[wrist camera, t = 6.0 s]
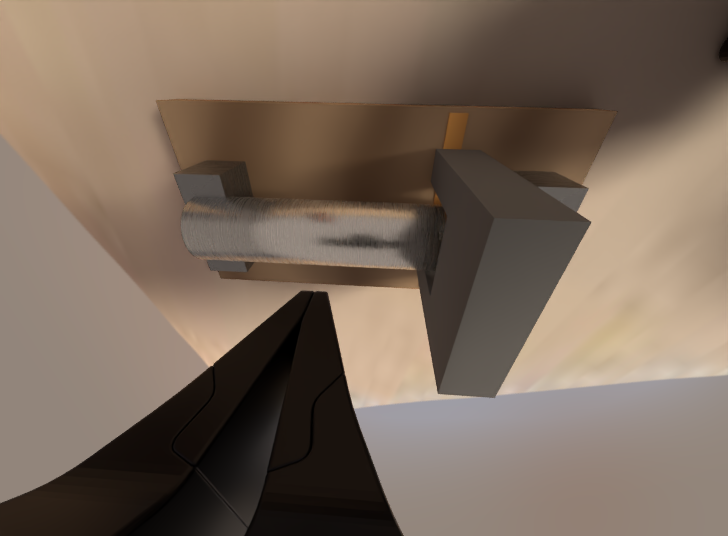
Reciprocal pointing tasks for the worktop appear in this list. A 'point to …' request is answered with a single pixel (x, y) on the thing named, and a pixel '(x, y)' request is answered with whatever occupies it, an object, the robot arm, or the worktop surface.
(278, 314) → the robot arm
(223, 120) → the board
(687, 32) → the worktop surface
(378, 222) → the pipe rig
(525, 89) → the worktop surface
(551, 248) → the slotted grey bracket
